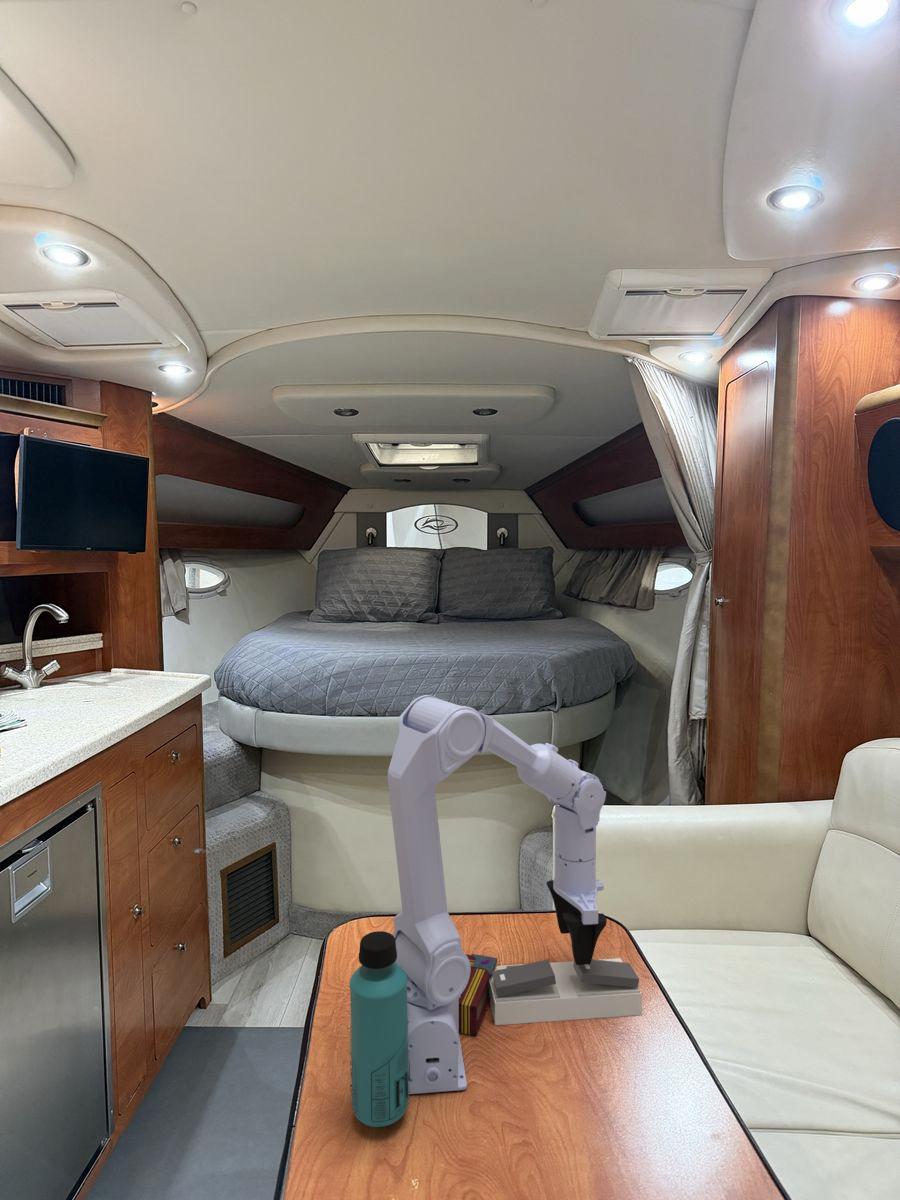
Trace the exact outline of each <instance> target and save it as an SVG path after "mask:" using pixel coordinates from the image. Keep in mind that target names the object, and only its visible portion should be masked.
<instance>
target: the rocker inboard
mask: <svg viewBox="0 0 900 1200" xmlns="http://www.w3.org/2000/svg"><path fill="white" fill-rule="evenodd" d="M550 963H551V962H550V960H549V959H548V958H547V959H542V960H539V961H534V962H530V963H525V964H524V963H523V964H524V965H520V966H515V967H511V968H506V969H501V970H497V971H492V976H493V981H494V985H495V989H496V993H497V996H498V997H499V996H504V995H508V994H513V993H517V992H522V991H526V990H531V989H535V988H540V987H544V986H549V985H553V984H556V980H555V974H554V972H553V970H552V967H551V965H550Z"/></svg>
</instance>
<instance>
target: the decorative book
mask: <svg viewBox="0 0 900 1200" xmlns="http://www.w3.org/2000/svg"><path fill="white" fill-rule="evenodd" d="M465 954H466V953H465ZM466 956H467V957H468V959H469V962H470V967H471V971H470V978H469V981H468V983H467V986H466V988H465V989H464V991H463V992H462V994H461V997H460V998H459V1034H463V1035H469V1036H473V1037H477V1036H478V1033H479V1031H480V1028H481V1025H482V1022H483V1020H484V1017H485V1015H486V1012H487V1009H488V1006H489V1005H490V999H489V993H488V980H489V978H491V977H492V971H494V970H495V967H496V966H498V957H493V956H488V955H482V954H477V953H476V954H475V953H471V954H468V953H467V954H466Z"/></svg>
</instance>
